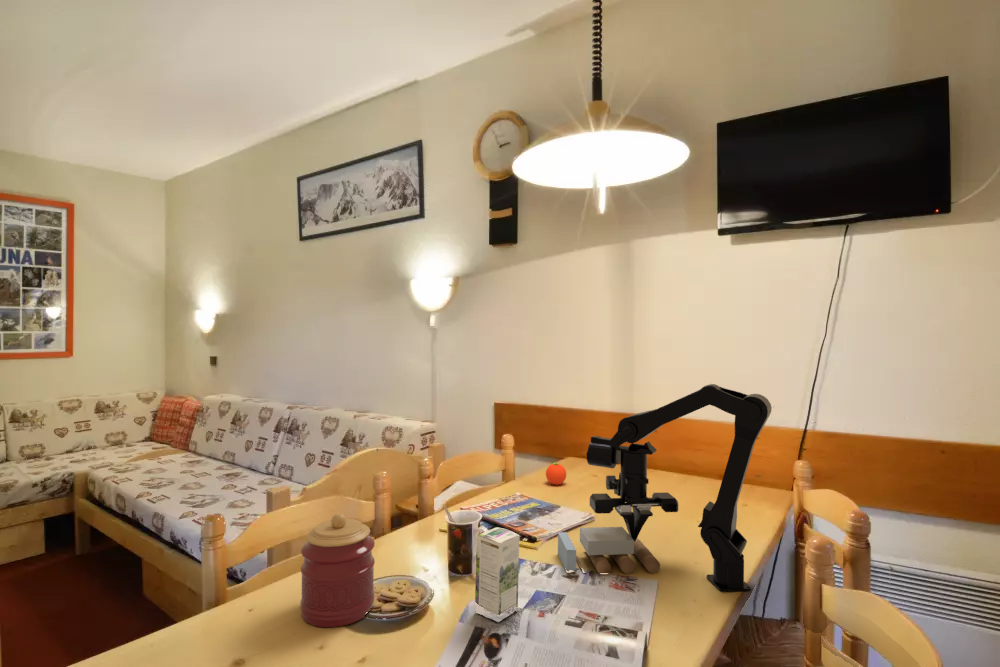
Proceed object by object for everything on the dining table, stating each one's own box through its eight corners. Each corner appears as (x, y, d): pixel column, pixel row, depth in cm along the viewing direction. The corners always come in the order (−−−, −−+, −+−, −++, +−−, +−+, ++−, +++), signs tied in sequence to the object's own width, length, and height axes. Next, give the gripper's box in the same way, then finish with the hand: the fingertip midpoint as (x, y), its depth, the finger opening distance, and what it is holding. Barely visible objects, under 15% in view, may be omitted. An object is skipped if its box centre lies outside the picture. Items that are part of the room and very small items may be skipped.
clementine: (541, 481, 185) (541, 460, 185) (560, 480, 187) (560, 459, 187) (550, 488, 178) (550, 466, 178) (569, 486, 180) (569, 465, 180)
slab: (633, 553, 117) (633, 540, 117) (588, 555, 116) (588, 541, 116) (622, 539, 125) (622, 526, 125) (579, 540, 124) (579, 527, 124)
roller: (602, 578, 114) (613, 570, 115) (594, 567, 114) (605, 558, 114) (588, 555, 126) (599, 547, 127) (581, 544, 126) (591, 537, 126)
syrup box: (494, 601, 103) (495, 525, 103) (519, 612, 99) (519, 533, 99) (474, 613, 98) (475, 533, 98) (499, 625, 95) (500, 542, 94)
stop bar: (575, 573, 115) (576, 549, 115) (566, 573, 115) (566, 549, 115) (566, 553, 125) (566, 532, 125) (557, 554, 125) (558, 532, 125)
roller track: (660, 572, 115) (660, 558, 115) (583, 575, 114) (583, 560, 114) (640, 550, 127) (641, 537, 127) (571, 551, 126) (571, 539, 126)
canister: (380, 592, 106) (380, 502, 106) (366, 629, 93) (366, 526, 93) (313, 593, 106) (313, 502, 105) (289, 629, 93) (290, 526, 92)
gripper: (660, 462, 130) (660, 527, 130) (584, 463, 128) (583, 528, 129) (679, 474, 119) (679, 545, 119) (596, 475, 117) (595, 547, 117)
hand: (633, 540), depth 121 cm, fingers closed
